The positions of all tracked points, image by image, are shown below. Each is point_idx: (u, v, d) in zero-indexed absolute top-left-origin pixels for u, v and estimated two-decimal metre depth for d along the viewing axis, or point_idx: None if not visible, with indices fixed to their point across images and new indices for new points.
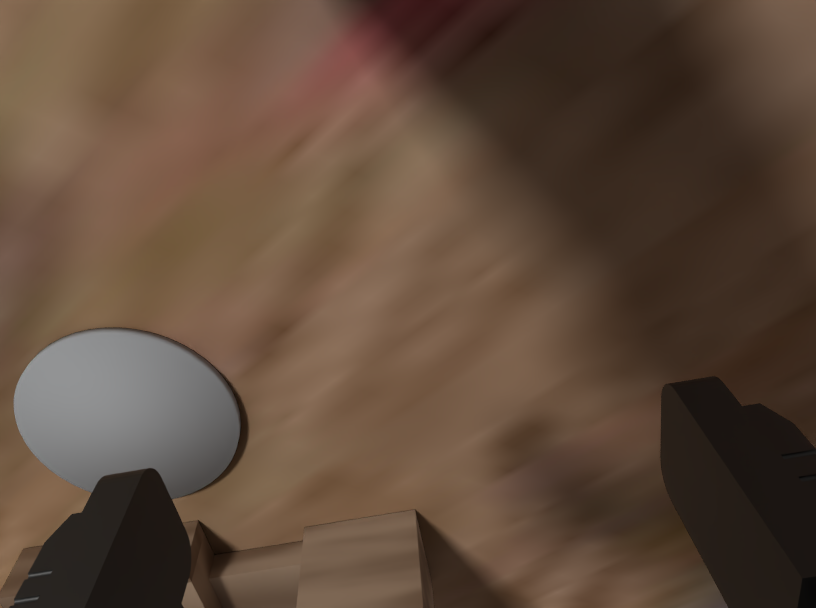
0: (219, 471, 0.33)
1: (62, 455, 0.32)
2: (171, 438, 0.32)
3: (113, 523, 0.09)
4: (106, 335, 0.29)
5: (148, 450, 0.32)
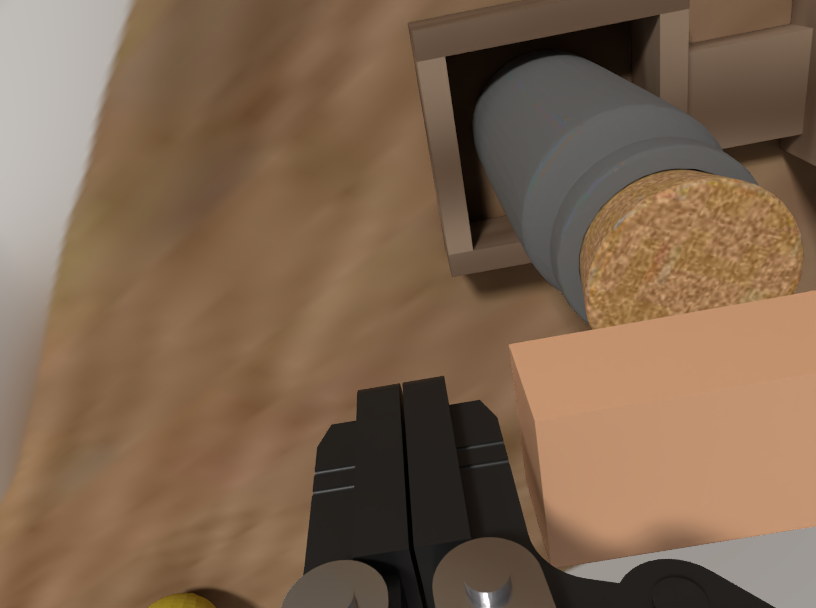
0: None
1: None
2: None
3: (393, 425, 0.10)
4: None
5: None
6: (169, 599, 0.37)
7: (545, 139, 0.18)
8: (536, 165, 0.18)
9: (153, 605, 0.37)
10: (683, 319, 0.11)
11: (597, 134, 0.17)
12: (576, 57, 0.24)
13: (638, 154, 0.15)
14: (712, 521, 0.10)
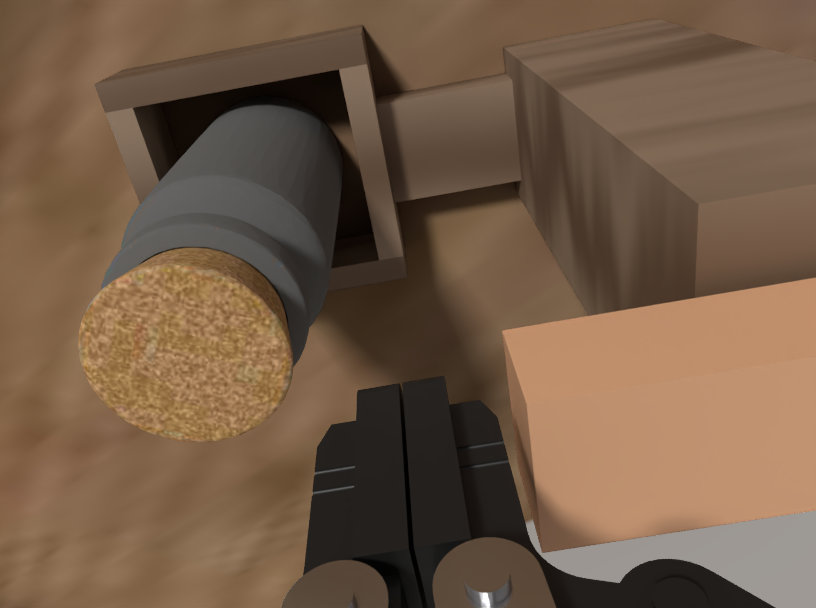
0: None
1: None
2: None
3: (393, 425, 0.10)
4: None
5: None
6: None
7: (140, 204, 0.19)
8: None
9: None
10: (675, 307, 0.11)
11: (166, 204, 0.17)
12: (272, 108, 0.25)
13: (152, 232, 0.16)
14: (702, 506, 0.10)
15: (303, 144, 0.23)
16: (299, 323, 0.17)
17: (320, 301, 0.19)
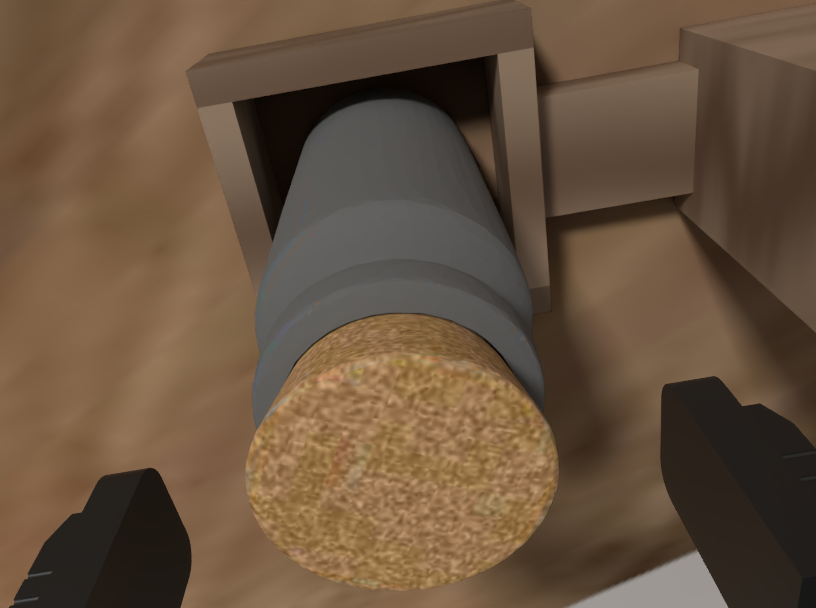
0: None
1: None
2: None
3: (113, 523, 0.09)
4: None
5: None
6: None
7: (283, 237, 0.14)
8: None
9: None
10: None
11: (331, 241, 0.12)
12: (403, 102, 0.20)
13: (342, 290, 0.11)
14: None
15: (459, 150, 0.18)
16: None
17: None
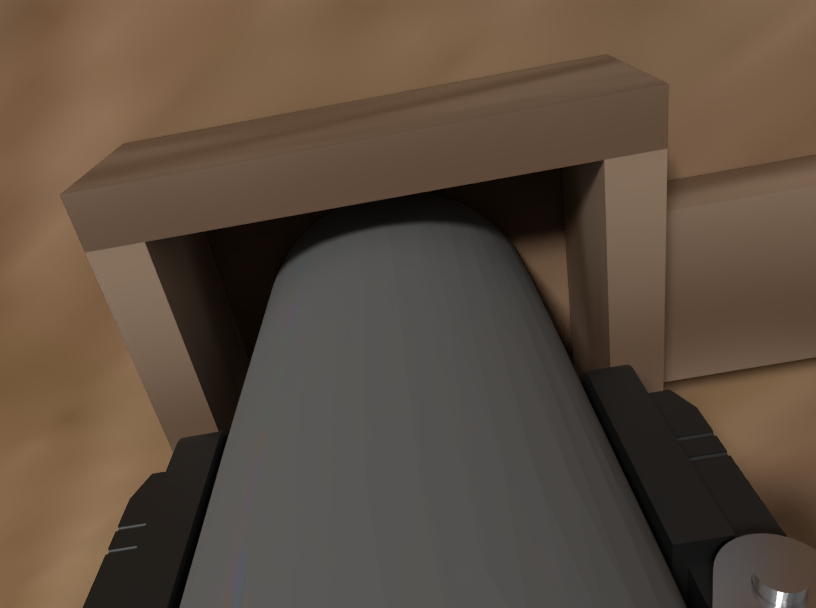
0: None
1: None
2: None
3: (198, 478, 0.10)
4: None
5: None
6: None
7: None
8: None
9: None
10: None
11: None
12: (435, 232, 0.12)
13: None
14: None
15: (543, 344, 0.10)
16: None
17: None
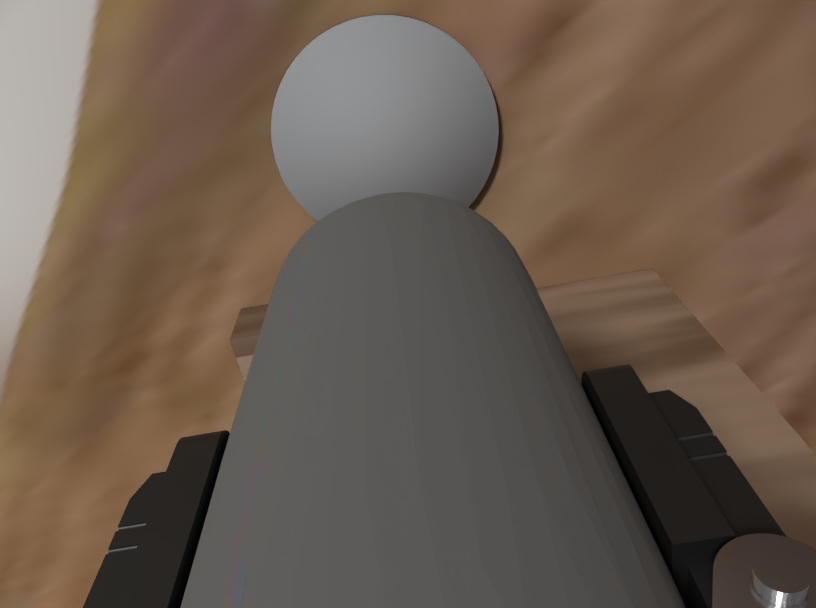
0: (466, 204, 0.31)
1: (309, 178, 0.30)
2: (425, 158, 0.30)
3: (199, 478, 0.10)
4: (384, 18, 0.27)
5: (399, 174, 0.30)
6: None
7: None
8: None
9: None
10: None
11: None
12: (435, 233, 0.12)
13: None
14: None
15: (543, 346, 0.10)
16: None
17: None
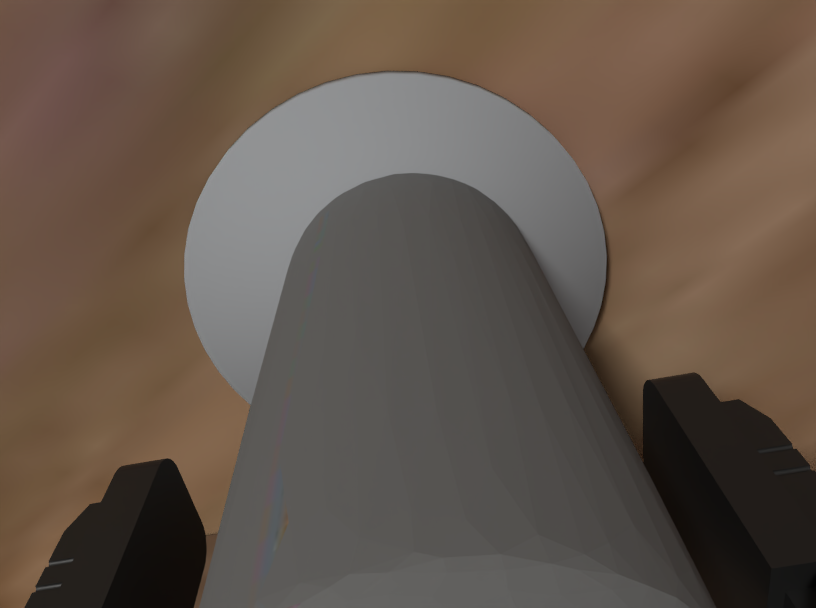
0: None
1: (260, 357, 0.17)
2: None
3: (133, 512, 0.09)
4: (398, 80, 0.14)
5: None
6: None
7: (228, 583, 0.06)
8: None
9: None
10: None
11: None
12: (443, 208, 0.13)
13: None
14: None
15: (545, 305, 0.10)
16: None
17: None
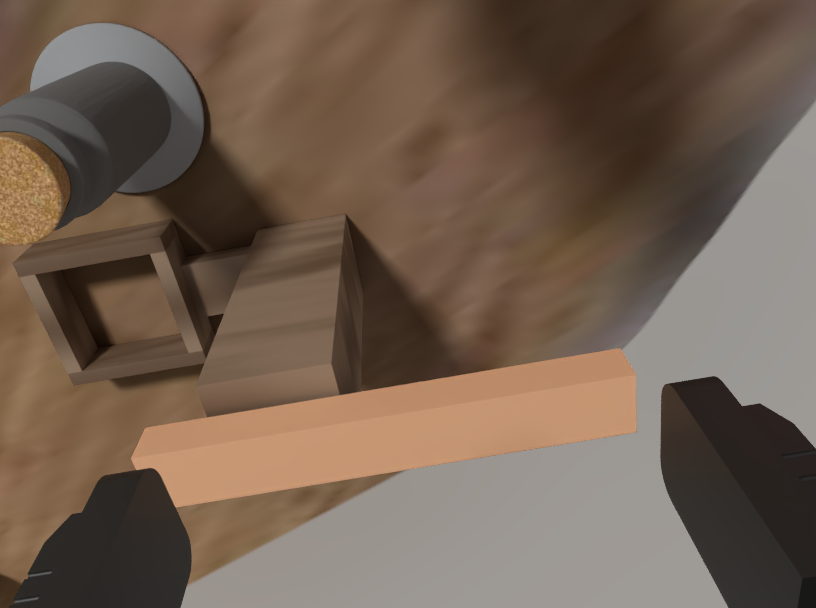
0: (188, 163, 0.42)
1: None
2: None
3: (113, 523, 0.09)
4: (101, 25, 0.38)
5: None
6: None
7: None
8: None
9: None
10: (205, 420, 0.29)
11: (4, 114, 0.30)
12: (107, 67, 0.37)
13: None
14: (209, 493, 0.29)
15: (117, 88, 0.35)
16: (77, 180, 0.29)
17: (108, 178, 0.31)
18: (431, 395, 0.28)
